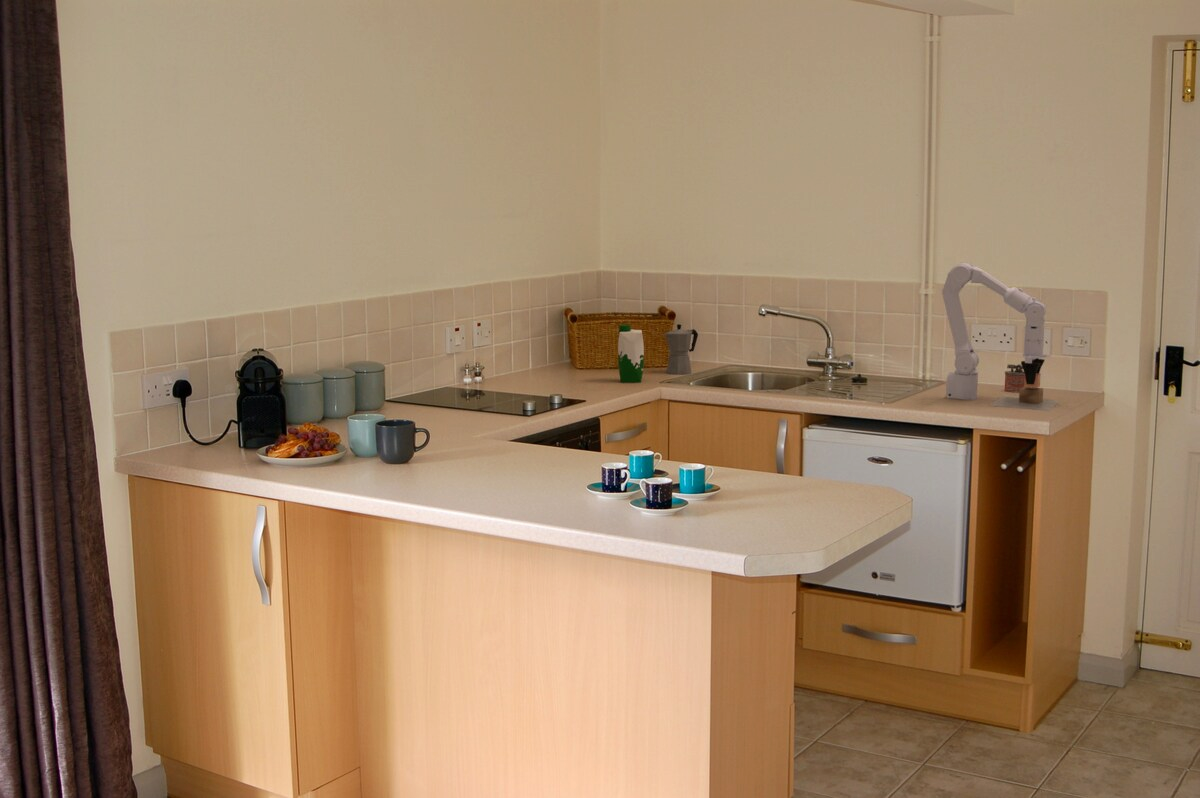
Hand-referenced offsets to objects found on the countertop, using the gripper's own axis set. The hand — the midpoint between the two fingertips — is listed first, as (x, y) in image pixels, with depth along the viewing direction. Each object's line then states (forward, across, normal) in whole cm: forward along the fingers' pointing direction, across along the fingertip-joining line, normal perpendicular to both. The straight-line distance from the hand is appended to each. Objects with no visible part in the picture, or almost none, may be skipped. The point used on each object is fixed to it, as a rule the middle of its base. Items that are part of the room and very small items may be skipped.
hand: (1031, 383), depth 403 cm
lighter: (+7, +17, +8) cm, 20 cm away
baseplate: (+7, -4, +1) cm, 8 cm away
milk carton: (+7, -17, +134) cm, 135 cm away
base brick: (+6, 0, 0) cm, 6 cm away
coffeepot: (+7, +9, +127) cm, 128 cm away
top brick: (+1, 0, 0) cm, 1 cm away
